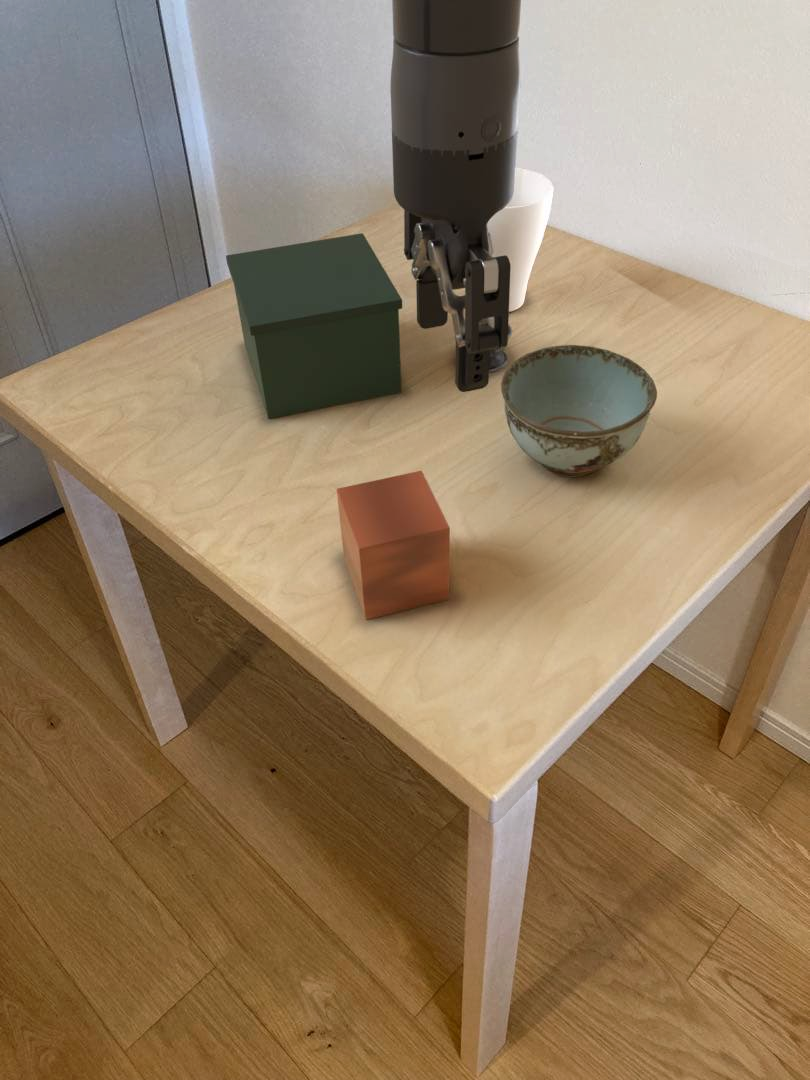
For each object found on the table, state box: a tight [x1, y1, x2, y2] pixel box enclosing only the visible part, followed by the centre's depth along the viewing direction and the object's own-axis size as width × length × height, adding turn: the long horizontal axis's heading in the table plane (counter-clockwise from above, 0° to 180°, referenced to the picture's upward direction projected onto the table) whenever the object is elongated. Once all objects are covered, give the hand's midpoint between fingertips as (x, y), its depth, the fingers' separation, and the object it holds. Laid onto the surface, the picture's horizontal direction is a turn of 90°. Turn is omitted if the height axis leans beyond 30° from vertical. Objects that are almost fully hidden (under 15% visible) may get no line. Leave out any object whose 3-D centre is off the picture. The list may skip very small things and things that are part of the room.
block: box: [336, 470, 451, 620], centre depth 71 cm, size 7×7×8 cm
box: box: [225, 232, 403, 420], centre depth 92 cm, size 15×15×11 cm
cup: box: [487, 167, 554, 313], centre depth 100 cm, size 10×10×14 cm
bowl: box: [500, 344, 658, 478], centre depth 81 cm, size 14×13×8 cm
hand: (451, 355), depth 64 cm, fingers open, 8 cm apart
